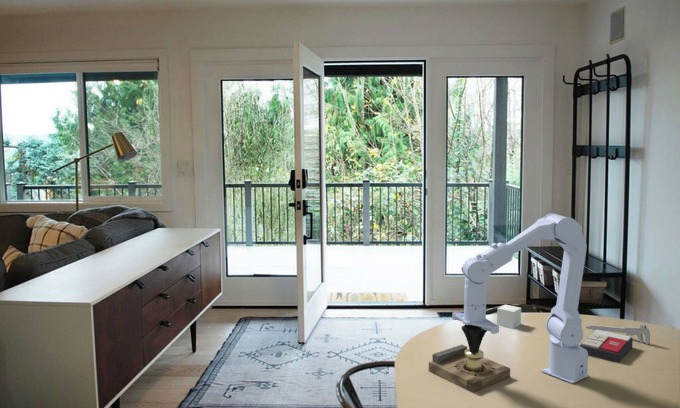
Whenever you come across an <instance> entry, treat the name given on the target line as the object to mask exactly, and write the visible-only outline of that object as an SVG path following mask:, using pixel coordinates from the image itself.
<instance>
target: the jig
mask: <svg viewBox="0 0 680 408" xmlns="http://www.w3.org/2000/svg"><path fill="white" fill-rule="evenodd" d="M466 349H468V346H466V345H464V344H459V345H456V346H453V347H450V348H448V349H444V350H442V351H441V350H440V351H438V352H434V353H432V360H430V361H429V362H428V372H430V373H432V374H434V375H436V376H437V377H440V378H443V379H445V380H446V381H448V382H451V383H453V384H455V385H457V386H459V387H461V388H464V389H466V390H467V391H469V392H471V393H474V392H477V391H478V390H482V389H484V388H487V387H489V386H492V385H494V384H496V383H499V382H502V381H504V380H507V379H509V378H511V368H510V367H509V366H506V365H503V364H500V363H498V362H496V361H494V360H491V359H488V358H487V357H485V356H483V358H482V361H481V372H469V371H467V370H466V356H465V350H466Z"/></svg>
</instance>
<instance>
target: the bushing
mask: <svg viewBox="0 0 680 408" xmlns="http://www.w3.org/2000/svg"><path fill="white" fill-rule="evenodd" d="M465 356H466V370H467V371H469V372H481V361H482V358H483V357H485V355H484V351H483V350H481V349H479V352H476V353H472V352H470V349H469V348H467V349H466V350H465Z"/></svg>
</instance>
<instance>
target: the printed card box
mask: <svg viewBox="0 0 680 408" xmlns="http://www.w3.org/2000/svg"><path fill="white" fill-rule="evenodd" d="M633 338H634V337H633V336H630V335H628V336H627V335H626V334H622V333H621V334H620V333H617V332H611V331H602V330H593V332H591V333H590V334H589V336H587V337H586V338H585V340H584V341H581V342H580V343H579V345H580V346H581V347H582V348H584V349H586V350H587V352H588V357H589V356H590V357H593V358H598V359H602V360H606V361H610V362H614V363H620V362H622V360H623V359H624V358H625V357H626V356H627V354H628V353H629V352H630V351H631V350H632V349H633Z"/></svg>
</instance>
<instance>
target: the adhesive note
mask: <svg viewBox="0 0 680 408" xmlns="http://www.w3.org/2000/svg"><path fill="white" fill-rule="evenodd" d="M496 314H497V315H496V316H497V317H496V318H497V319H496V325H499V327H500V326H501V327H504V328H505V327H506V328H509V329H515V328H517V327H519V326H520V325H521V324H522V322H521V321H522V307H519V306H513V305H509V304H503V305H501V306H499V307H497V312H496Z"/></svg>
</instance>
